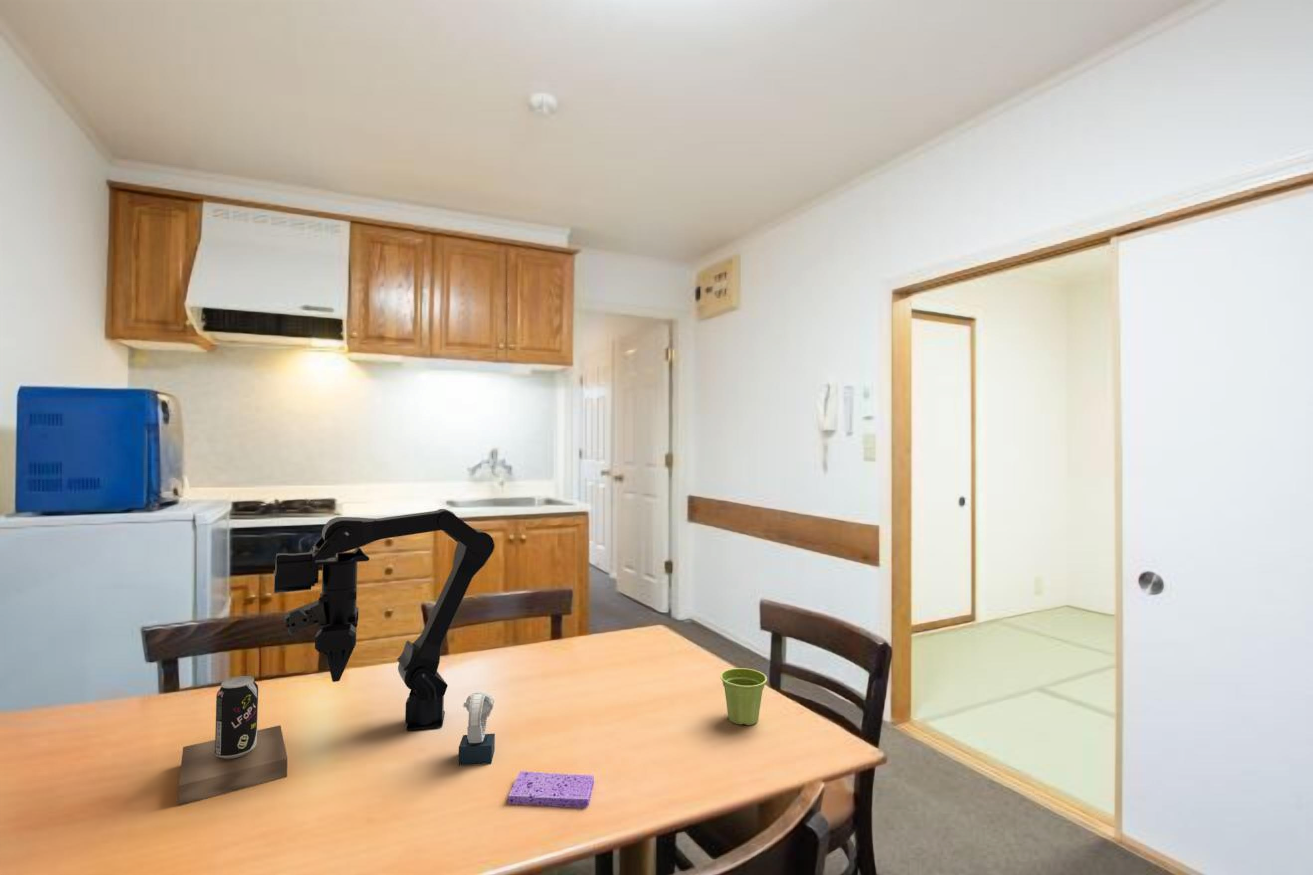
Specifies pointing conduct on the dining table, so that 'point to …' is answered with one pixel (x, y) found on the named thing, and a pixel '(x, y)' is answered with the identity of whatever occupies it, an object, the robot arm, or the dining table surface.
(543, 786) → the sponges
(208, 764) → the walnut block
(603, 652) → the dining table surface
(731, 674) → the plant pot
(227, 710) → the beverage can
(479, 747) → the watch
